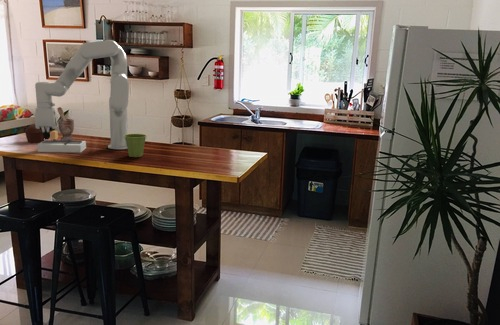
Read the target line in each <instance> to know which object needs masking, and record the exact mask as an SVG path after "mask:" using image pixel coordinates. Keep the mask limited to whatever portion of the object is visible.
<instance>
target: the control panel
mask: <svg viewBox="0 0 500 325" xmlns="http://www.w3.org/2000/svg"><path fill="white" fill-rule="evenodd" d="M36 146H37V153H77V154H78V153H80V154H81V153H82V152H83V151H85V150H86V149H87V141H86V140H74V141H71V140H69V141H61V140H56V142H53V139H44V141H42V142H41V143H37V145H36Z"/></svg>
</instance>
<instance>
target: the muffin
mask: <svg viewBox="0 0 500 325" xmlns="http://www.w3.org/2000/svg"><path fill="white" fill-rule="evenodd" d="M23 132H24V133H25V134H24V135H25V137H26V141H27V143H28V144H39V143H41V142H42V141H44V140H45V138H44V136H43V132H42V130H40V129H38V128H36V125H35V124H31V125H28V126H27V127H26V128H25V130H24V131H23Z"/></svg>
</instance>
